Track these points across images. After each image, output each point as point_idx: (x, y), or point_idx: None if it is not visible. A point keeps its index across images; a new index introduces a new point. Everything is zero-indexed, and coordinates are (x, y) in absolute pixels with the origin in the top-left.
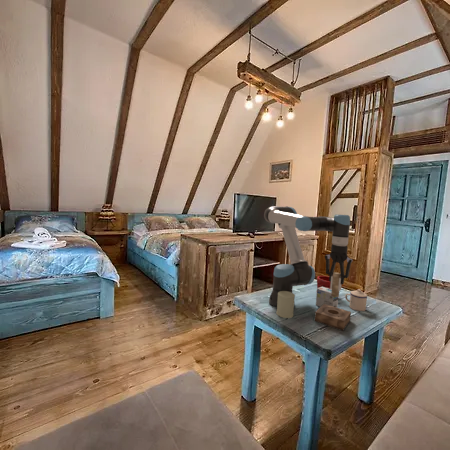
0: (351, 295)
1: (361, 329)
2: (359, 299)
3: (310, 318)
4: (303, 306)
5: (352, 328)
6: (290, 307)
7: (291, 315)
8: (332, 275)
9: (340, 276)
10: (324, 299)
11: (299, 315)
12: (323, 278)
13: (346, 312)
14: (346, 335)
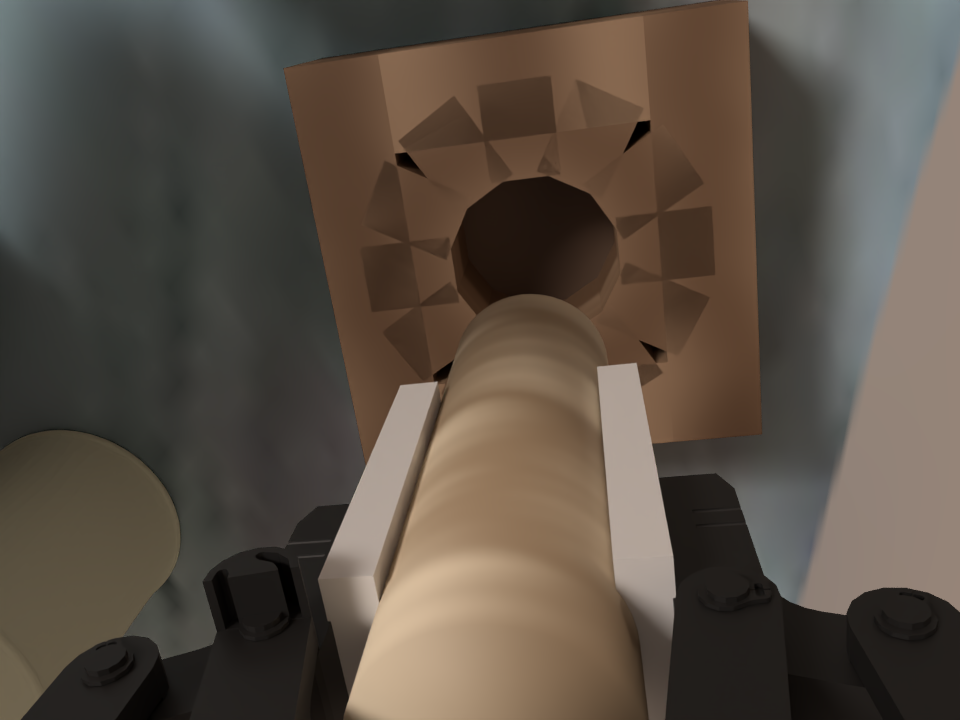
0: None
1: (916, 146)
2: None
3: (322, 386)
4: (35, 114)
5: (810, 219)
6: (116, 637)
7: (169, 550)
8: (330, 634)
9: (644, 685)
10: None
11: (195, 419)
12: None
13: (697, 102)
14: (797, 447)
